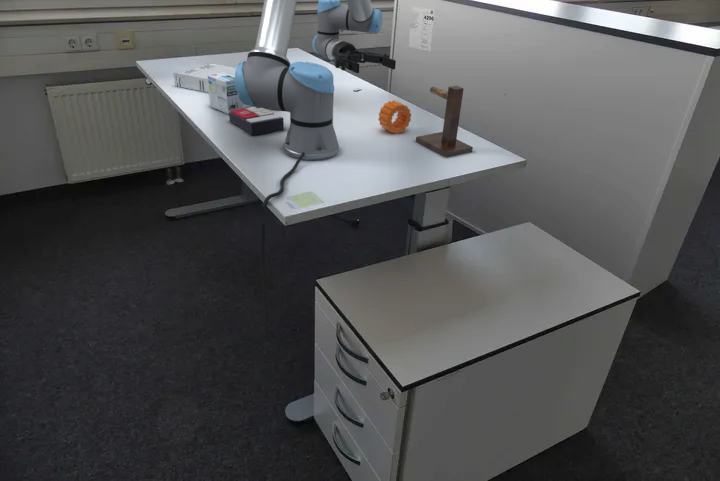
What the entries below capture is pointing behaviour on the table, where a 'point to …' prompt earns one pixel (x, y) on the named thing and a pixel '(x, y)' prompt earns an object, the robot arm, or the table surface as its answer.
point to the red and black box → (256, 120)
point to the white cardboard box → (200, 76)
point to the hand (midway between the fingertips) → (376, 66)
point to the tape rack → (447, 126)
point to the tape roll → (388, 113)
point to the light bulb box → (223, 92)
